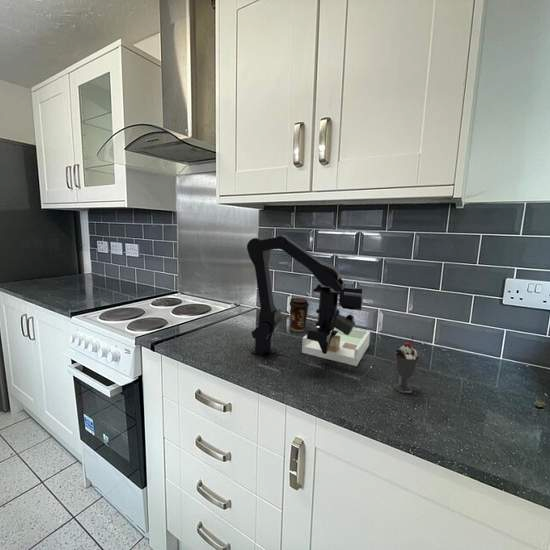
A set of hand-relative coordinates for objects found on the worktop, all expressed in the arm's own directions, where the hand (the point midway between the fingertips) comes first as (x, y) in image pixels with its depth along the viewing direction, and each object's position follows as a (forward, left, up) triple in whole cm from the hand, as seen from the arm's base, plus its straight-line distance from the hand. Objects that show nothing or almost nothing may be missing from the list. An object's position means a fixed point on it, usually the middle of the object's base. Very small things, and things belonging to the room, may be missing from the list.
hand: (324, 353), depth 95 cm
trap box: (+14, 0, -4) cm, 14 cm away
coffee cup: (+26, +21, -4) cm, 33 cm away
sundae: (-3, -24, -4) cm, 24 cm away
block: (+7, 0, -1) cm, 7 cm away
